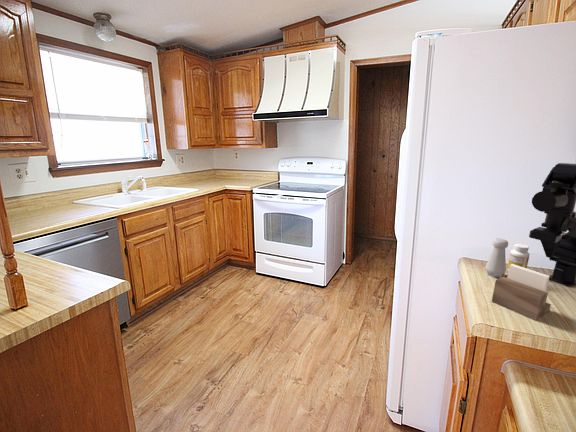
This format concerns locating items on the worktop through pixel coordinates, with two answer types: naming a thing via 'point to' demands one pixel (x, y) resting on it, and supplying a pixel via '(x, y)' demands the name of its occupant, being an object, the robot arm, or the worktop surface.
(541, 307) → the brown wooden stand
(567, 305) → the worktop surface
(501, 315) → the worktop surface
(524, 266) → the supplement bottle
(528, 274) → the button plate
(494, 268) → the salt shaker
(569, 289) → the worktop surface
